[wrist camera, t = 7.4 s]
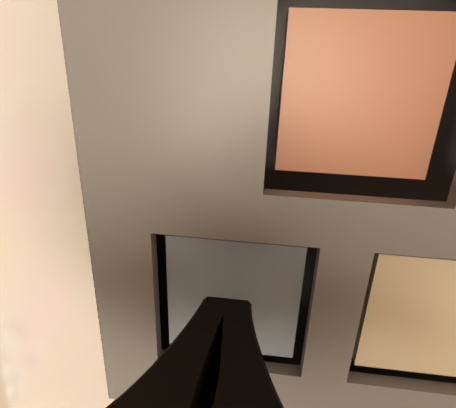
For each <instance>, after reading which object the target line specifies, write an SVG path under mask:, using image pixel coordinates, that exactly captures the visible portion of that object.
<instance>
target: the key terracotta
mask: <svg viewBox="0 0 456 408" xmlns="http://www.w3.org/2000/svg"><path fill="white" fill-rule="evenodd" d="M455 61H456V11H414V10H373V9H332V8H291V7H289V9H288V12H287V22H286V33H285V45H284V57H283V69H282V80H281V92H280V104H279V115H278V127H277V139H276V150H275V170H286V171H301V172H316V173H330V174H345V175H360V176H375V177H390V178H405V179H420V180H425V178H426V174H427V170H428V166H429V162H430V158H431V154H432V150H433V147H434V143H435V139H436V135H437V131H438V127H439V123H440V119H441V115H442V111H443V108H444V104H445V100H446V96H447V92H448V88H449V84H450V80H451V76H452V72H453V69H454V65H455Z"/></svg>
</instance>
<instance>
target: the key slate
mask: <svg viewBox="0 0 456 408" xmlns="http://www.w3.org/2000/svg"><path fill="white" fill-rule="evenodd" d="M165 239H166V266H167V293H168V319H169V344H171V343H172V342H173V341H174V340H175V338H176V337H177V336H178V335H179V333H180V332H181V331H182V330H183V328H184V327H185V326H186V324H187V323H188V322H189V320H190V319H191V318H192V316H193V315H194V313H195V312H196V311H197V309H198V308H199V306H200V304H201V303H202V301H203V299H205V298H206V297H207V296H209V297H219V298H229V299H239V300H248V301H249V302H250V303H251V304H252V305H251V310H252V318H253V324H254V328H255V332H256V336H257V340H258V343H259V346H260V349H261V353H262V354H263V355H271V356H280V357H288V358H293V351H294V343H295V336H296V328H297V321H298V314H299V306H300V299H301V291H302V284H303V276H304V269H305V261H306V254H307V247H301V246H290V245H278V244H267V243H255V242H243V241H232V240H220V239H209V238H197V237H186V236H174V235H165Z"/></svg>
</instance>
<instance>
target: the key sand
mask: <svg viewBox="0 0 456 408" xmlns="http://www.w3.org/2000/svg"><path fill="white" fill-rule="evenodd" d="M352 358H353V362H354V365H357V366H366V367H375V368H383V369H392V370H401V371H409V372H418V373H426V374H435V375H444V376H452V377H456V260H451V259H440V258H428V257H417V256H405V255H394V254H382V253H375V254H374V258H373V263H372V268H371V272H370V277H369V281H368V286H367V290H366V295H365V300H364V304H363V309H362V313H361V318H360V323H359V327H358V332H357V336H356V341H355V346H354V350H353V355H352Z"/></svg>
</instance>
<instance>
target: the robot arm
mask: <svg viewBox="0 0 456 408" xmlns="http://www.w3.org/2000/svg"><path fill="white" fill-rule="evenodd" d="M251 305H252V304H251V303H250V302H249V301H248V300H239V299H229V298H219V297H209V296H207V297H206V298H205V299H203V301H202V303H201V304H200V306H199V308H198V309H197V311H196V312H195V313H194V315H193V316H192V318H191V319H190V320H189V322H188V323H187V324H186V326H185V327H184V328H183V330H182V331H181V332H180V333H179V335H178V336H177V337H176V338H175V340H174V341H173V342H172V343H171V344H170V346H169V347H168V348H167V349H166V350H165V351H164V352H163V353H162V355H161V356H160V357H159V358H158V359H157V360H156V361H155V362H154V363H153V364H152V366H151V367H150V368H149V369H148V370H147V371H146V372H145V373H144V374H143V375H142V376H141V377H140V378H139V379H138V380H137V381H136V382H135V383H133V384H132V385H131V386H130V387H129V388H128V389H127V390H126V391H125V392H124V393H123V394H122V395H120V396H119V397H118V398H117V399H116V400H114V401H113V402H112V403H111V404H110V405H109V406H107V407H106V408H284V407H283V405H282V403H281V401H280V398H279V396H278V394H277V392H276V389H275V387H274V385H273V382H272V380H271V377H270V375H269V372H268V370H267V367H266V364H265V362H264V359H263V356H262V353H261V349H260V346H259V343H258V340H257V336H256V332H255V328H254V324H253V318H252V310H251Z"/></svg>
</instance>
